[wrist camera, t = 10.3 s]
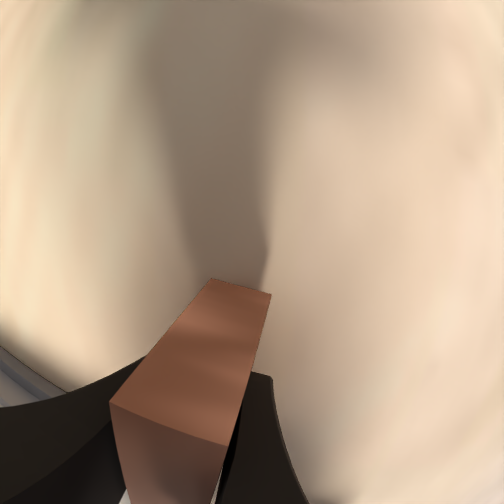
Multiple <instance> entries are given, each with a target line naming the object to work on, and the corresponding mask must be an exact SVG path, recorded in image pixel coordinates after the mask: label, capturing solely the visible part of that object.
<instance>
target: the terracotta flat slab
mask: <svg viewBox="0 0 504 504" xmlns="http://www.w3.org/2000/svg"><path fill="white" fill-rule="evenodd" d="M271 296H272V294H268V293H265V292H261V291H257V290H253V289H249V288H245V287H242V286H238V285H234V284H230V283H227V282H223V281H219V280H216V279H212V278H211V279H210V281H209V282H208V283H207V284H206V285H205V286H204V288H203V289H202V290H201V291H200V292H199V294H198V295H197V296H196V297H195V298H194V299H193V301H192V302H191V303H190V304H189V305H188V307H187V308H186V309H185V310H184V311H183V313H182V314H181V315H180V316H179V317H178V319H177V320H176V321H175V322H174V323H173V325H172V326H171V327H170V328H169V329H168V331H167V332H166V333H165V334H164V335H163V337H162V338H161V339H160V340H159V341H158V343H157V344H156V345H155V346H154V347H153V349H152V350H151V351H150V352H149V353H148V355H147V356H146V357H145V358H144V359H143V361H142V362H141V363H140V364H139V366H138V367H137V368H136V369H135V370H134V372H133V373H132V374H131V375H130V376H129V378H128V379H127V380H126V381H125V383H124V384H123V385H122V386H121V387H120V389H119V390H118V391H117V392H116V394H115V395H114V396H113V397H112V398H111V400H110V401H109V405H110V412H111V418H112V424H113V430H114V436H115V441H116V446H117V451H118V456H119V460H120V464H121V469H122V473H123V477H124V481H125V485H126V488H127V492H128V496H129V499H130V503H131V504H210V503H211V500H212V497H213V494H214V491H215V488H216V485H217V482H218V479H219V475H220V472H221V469H222V466H223V463H224V459H225V456H226V453H227V450H228V447H229V443H230V440H231V437H232V433H233V430H234V427H235V423H236V420H237V417H238V413H239V410H240V407H241V403H242V400H243V396H244V393H245V389H246V386H247V383H248V379H249V376H250V372H251V369H252V366H253V362H254V359H255V355H256V351H257V348H258V344H259V341H260V337H261V333H262V330H263V326H264V322H265V318H266V315H267V311H268V307H269V303H270V300H271Z"/></svg>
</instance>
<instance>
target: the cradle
mask: <svg viewBox="0 0 504 504" xmlns="http://www.w3.org/2000/svg"><path fill="white" fill-rule="evenodd" d="M63 394H66V392H64V391H63V390H61V389H60V388H58V387H56V386H55V385H53V384H52V383H50V382H49V381H47V380H46V379H44V378H43V377H41V376H40V375H38V374H37V373H35V372H34V371H32V370H31V369H29V368H28V367H27V366H25V365H24V364H23V363H21V362H20V361H19V360H17V359H16V358H15V357H13V356H12V355H11V354H9V353H8V352H7V351H6V350H4V349H3V348H2V347H1V346H0V404H2V405H3V406H4V407H9V406H16V405H22V404H27V403H32V402H37V401H41V400H45V399H49V398H53V397H56V396H59V395H63Z"/></svg>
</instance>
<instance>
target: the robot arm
mask: <svg viewBox="0 0 504 504" xmlns="http://www.w3.org/2000/svg"><path fill="white" fill-rule="evenodd" d="M147 355H148V354H147ZM147 355H146V356H147ZM146 356H144V357H142V358H141V359H139V360H137V361H135V362H134V363H132V364H130V365H128V366H126V367H124V368H122V369H121V370H119V371H117V372H115V373H113V374H111V375H109V376H107V377H105V378H103V379H100V380H98V381H96V382H94V383H91V384H89V385H87V386H84V387H82V388H79V389H77V390H74V391H71V392H69V393H66V394H63V395H59V396H56V397H53V398H49V399H45V400H41V401H37V402H32V403H27V404H22V405H16V406H9V407H0V504H119V503H120V501H121V499H122V497H123V495H124V493H125V491H126V489H127V488H126V485H125V481H124V477H123V473H122V469H121V464H120V460H119V456H118V451H117V446H116V441H115V436H114V430H113V424H112V418H111V412H110V405H109V401H110V400H111V398H112V397H113V396H114V395H115V394H116V392H117V391H118V390H119V389H120V387H121V386H122V385H123V384H124V383H125V381H126V380H127V379H128V378H129V376H130V375H131V374H132V373H133V372H134V370H135V369H136V368H137V367H138V366H139V364H140V363H141V362H142V361H143V359H144V358H145V357H146ZM215 504H309V502H308V500H307V498H306V496H305V494H304V492H303V490H302V488H301V486H300V484H299V481H298V479H297V477H296V474H295V472H294V469H293V467H292V464H291V461H290V458H289V455H288V452H287V449H286V446H285V443H284V440H283V436H282V432H281V428H280V424H279V420H278V416H277V411H276V406H275V400H274V392H273V380H272V378H271V377H270V376H267V375H263V374H259V373H256V372H252V371H251V372H250V376H249V379H248V383H247V386H246V389H245V393H244V396H243V400H242V403H241V407H240V410H239V413H238V417H237V420H236V423H235V427H234V430H233V433H232V437H231V440H230V443H229V447H228V450H227V453H226V456H225V459H224V463H223V468H222V473H221V477H220V482H219V487H218V492H217V497H216V501H215Z"/></svg>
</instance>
